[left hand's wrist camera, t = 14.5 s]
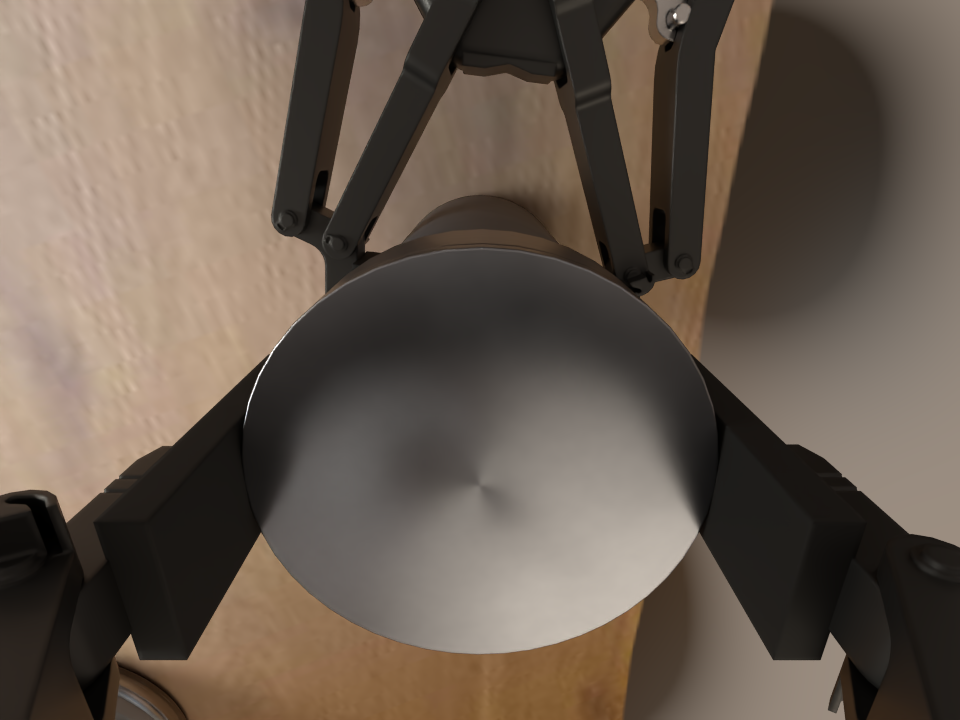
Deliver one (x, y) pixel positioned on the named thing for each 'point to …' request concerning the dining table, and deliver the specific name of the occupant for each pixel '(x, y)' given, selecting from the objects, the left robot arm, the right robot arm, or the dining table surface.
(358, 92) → the dining table surface
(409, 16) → the dining table surface
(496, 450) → the lid
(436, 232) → the jar
